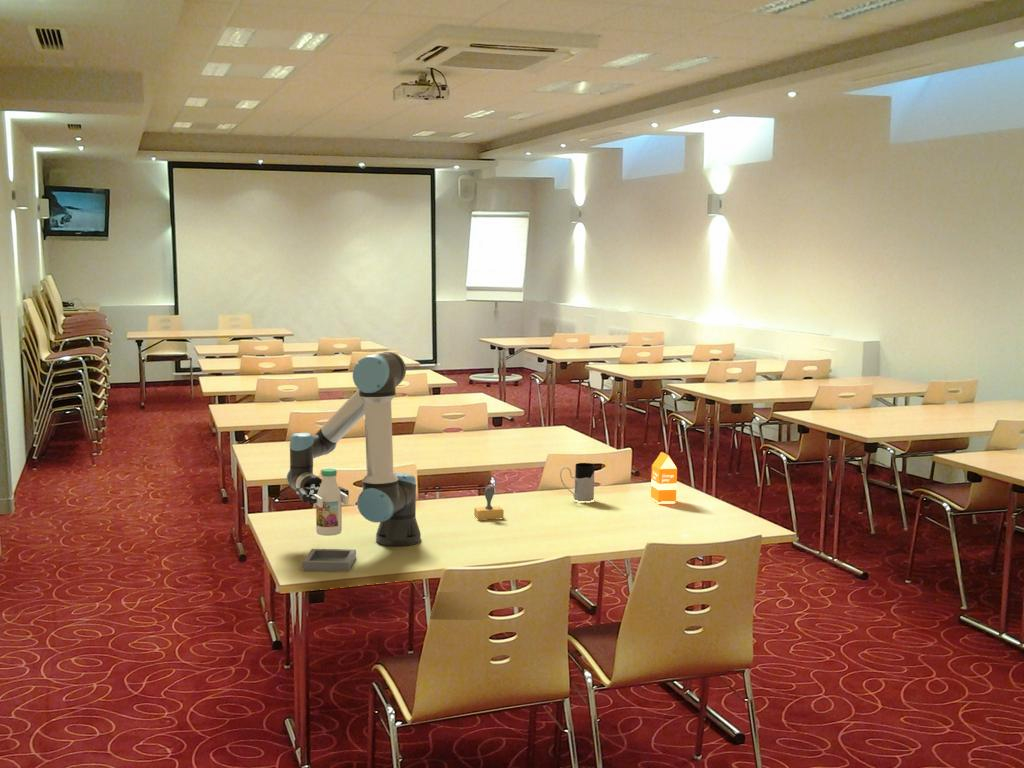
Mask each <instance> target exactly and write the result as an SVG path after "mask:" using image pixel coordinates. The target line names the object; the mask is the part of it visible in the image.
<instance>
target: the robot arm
mask: <svg viewBox="0 0 1024 768" xmlns="http://www.w3.org/2000/svg"><path fill="white" fill-rule="evenodd" d="M406 370H407V367H406V363H405V361H404V360H403V358H402V357H401V356H400V355H398V354H397V353H395V352H391V351H386V352H379V353H373V354H368V355H365V356H363V357H362V358H360V359H358V361H357V362H356V363H355V364H354V367H353V369H352V381H353V383H354V385H355V386H356V388H357V390H356V391H355V392H354V393H353V394H352V395H350V397H349V398H348V399H347V400H346V401H345V402H344V403H343V404H342V406H340V408H338V410H337V411H336V412H335V413H334V414H333V415H331V417H330V418H329V419H328V420H327V421H326V422H325V423H324V424H323V425H322V427H321V428H320V429H318V431H316V433H315V434H312V433H310V432H298V433H297V432H295V433H293V434H291V435H290V437H289V440H290V441H289V470H288V472H287V474H286V482H287V483H288V485H289V486H290V488H291V489H293V490H295V492H296V494H295V496H296V497H298V498H299V499H300V500H301V502H302V503H307V502H308V505H309V506H313V505H317V506H319V507H320V508H321V507H323V498H321V497H320V496H318V495H317V493H318V490H319V488H320V485H321V482H322V478H320V477H318V475H316V474H314V459H316V458H319V457H322V456H326V455H328V454H330V453H331V452H333V451H335V449H336V447H337V443H338V442H339V441H340V440H341V439H342V438H343V437H344V436H345V435H347V433H348V432H349V431H350V430H351V429H352V428H353V427H355V425H356V424H357V423H358V422H359V421H361V419H362V418H363V417H364V429H365V432H364V433H365V457H366V458H365V460H366V462H365V463H366V466H365V467H366V475H365V476H364V478H362V482H361V483H362V491H361V492H360V494H358V498H357V501H356V504H357V509H358V512H359V513H360V515H361V516H362V517H363V518H364V519H365V520H367V521H369V522H371V523H377V524H378V526H377V530H376V533H375V541H376V542H377V543H378V544H380V545H383V546H390V547H402V546H403V547H405V546H406V547H407V546H410V545H411V546H412V545H416V544H418V543H420V541H421V536H422V535H421V530H420V527H419V525H418V521H417V518H416V511H417V510H416V507H417V506H416V505H417V504H416V503H417V502H416V501H417V500H416V499H417V496H416V495H417V482H416V481H417V480H416V476H415V475H413V474H410V473H400V472H394V453H393V452H394V451H393V450H394V449H393V448H394V447H393V446H394V445H393V422H392V421H393V418H392V416H393V415H392V413H393V412H392V400H393V399H394V398H395V397H396V391H397V389H396V388H397V387H398V386H399V385H400V384H401V383H402V382H403V381H404V379H405V376H406V375H407V374H406V372H407V371H406ZM338 487H339V489H340V492H341V500H342V504H344V505H348V506H349V496H350V494H349V492H350V491H349V489H346V488H344V487H342V486H339V485H338ZM415 543H416V544H415Z"/></svg>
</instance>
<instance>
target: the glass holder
mask: <svg viewBox="0 0 1024 768" xmlns="http://www.w3.org/2000/svg"><path fill="white" fill-rule="evenodd" d="M565 469H567V470H568V471H569V473H570V474H569V475H570V478H572V479H574V492H573V491H572V490H571V489H569V488H568V487H567V485H566V484H565V483H564V481H563V478H562V472H563V470H565ZM574 471H575V473H574V474H575V475H574V477H573V475H572V471H571V469H570V468H569V467H566V466H565V467H562V468H561V470H560V473H559V476H560V481H561V483H562V485H563V487H564V488H565V489H567V490H568V491H569V492H570V493H572V495H573V500H574V499H575V500H578V501H591V500H593V499H594V500H595V497H594V496H595V464H594V463H590V462H579V463H576V464H575V470H574Z"/></svg>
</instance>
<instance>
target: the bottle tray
mask: <svg viewBox="0 0 1024 768" xmlns="http://www.w3.org/2000/svg"><path fill="white" fill-rule="evenodd" d="M356 558H357V550H356V549H353V548H352V549H349V548H345V549H344V548H343V549H342V548H341V549H339V548H311V550H310V551H309V552H308V554H307V555H306V557H305V558H304V559H303V561H302V562H301V563H302V565H301V566H302V568H301V569H302V571H303V570H304V571H303V572H337V571H350V570H351V568H352V567H353V564H354V563H353V562H355V561H356ZM349 569H350V570H349Z"/></svg>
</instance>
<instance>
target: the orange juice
mask: <svg viewBox="0 0 1024 768" xmlns="http://www.w3.org/2000/svg"><path fill="white" fill-rule="evenodd" d="M650 480H651V482H650V485H651V486H650V498H651V497H652V498H654V499H655V500H657V501H658V502H661V501H676V502H677V486H678V485H677V484H678V483H677V481H678V468H677V466H676V464H675V463H674V461H673V460H672V458H671V457H670V455H669V454H667V453H665V452H663V451H661V452H660V453H659V454H658V456H657V458H656V459H655V460H654V462H653V463H652V464H651V479H650Z"/></svg>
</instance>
